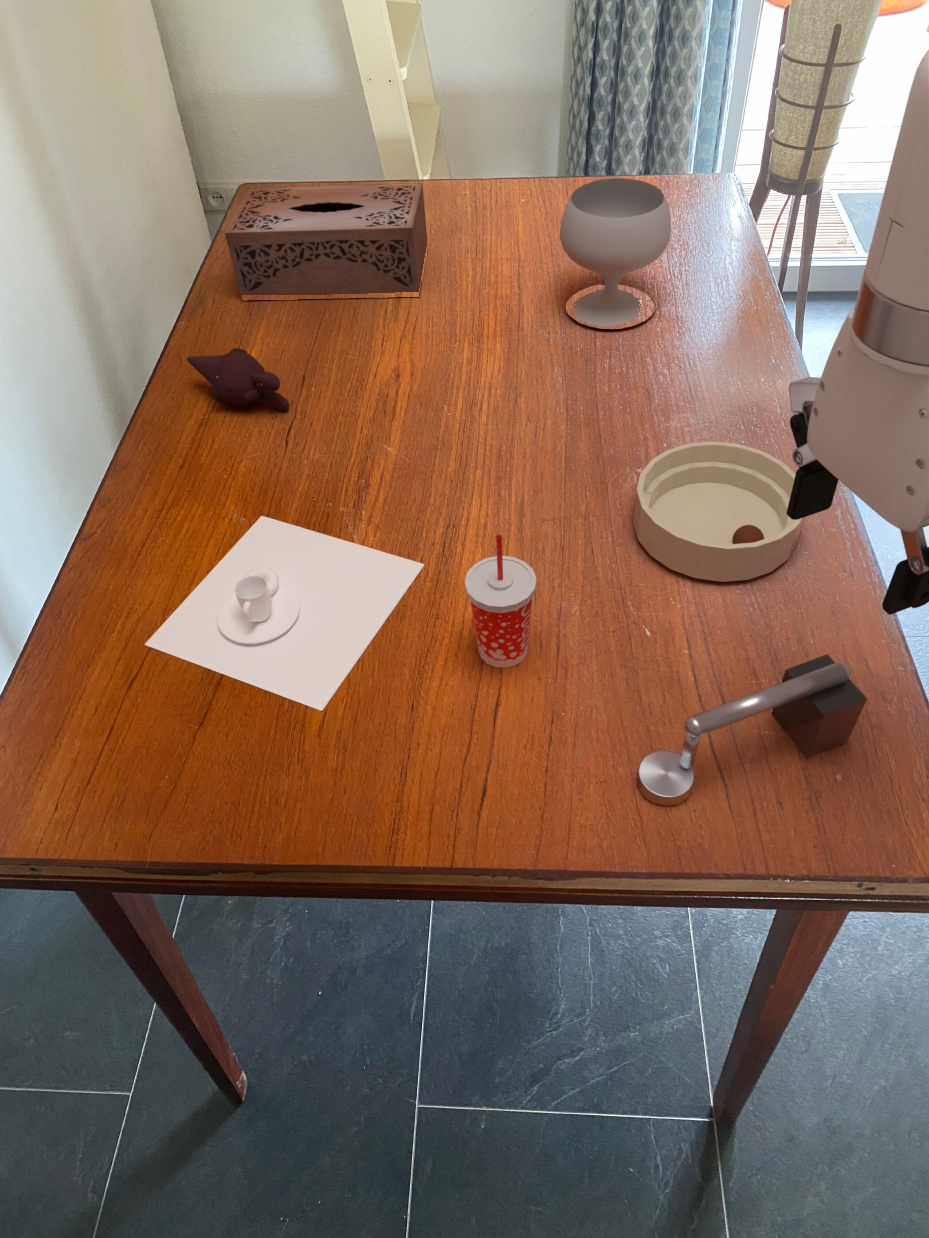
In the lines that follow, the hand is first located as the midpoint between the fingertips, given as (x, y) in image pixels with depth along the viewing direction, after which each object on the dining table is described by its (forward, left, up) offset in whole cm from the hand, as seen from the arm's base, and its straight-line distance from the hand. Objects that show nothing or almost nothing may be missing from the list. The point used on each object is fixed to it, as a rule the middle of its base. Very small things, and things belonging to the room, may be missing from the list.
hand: (853, 556), depth 59 cm
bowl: (-9, -25, -22) cm, 35 cm away
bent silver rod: (+4, -1, -22) cm, 22 cm away
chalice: (-20, -69, -22) cm, 75 cm away
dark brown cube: (-3, -1, -22) cm, 22 cm away
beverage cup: (+17, -19, -22) cm, 34 cm away
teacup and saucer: (+34, -33, -22) cm, 53 cm away
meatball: (-10, -21, -20) cm, 30 cm away
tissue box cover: (+11, -96, -22) cm, 99 cm away
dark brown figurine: (+31, -70, -22) cm, 80 cm away
